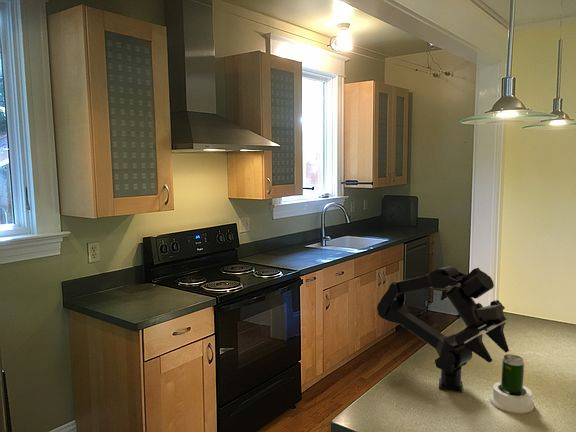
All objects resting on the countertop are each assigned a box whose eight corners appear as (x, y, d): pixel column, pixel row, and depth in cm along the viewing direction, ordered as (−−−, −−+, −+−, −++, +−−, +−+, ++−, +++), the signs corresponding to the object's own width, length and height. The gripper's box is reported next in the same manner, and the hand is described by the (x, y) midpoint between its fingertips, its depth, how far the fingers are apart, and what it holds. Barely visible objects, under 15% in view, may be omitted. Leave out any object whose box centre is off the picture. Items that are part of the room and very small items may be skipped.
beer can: (516, 406, 127) (518, 363, 126) (496, 399, 131) (498, 357, 130) (525, 400, 131) (527, 358, 129) (506, 393, 135) (508, 352, 133)
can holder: (488, 391, 138) (489, 378, 138) (531, 397, 134) (531, 383, 134) (490, 409, 128) (491, 395, 127) (536, 417, 124) (537, 402, 124)
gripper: (467, 300, 124) (505, 355, 118) (502, 285, 136) (538, 335, 130) (439, 319, 132) (473, 371, 125) (474, 303, 143) (507, 351, 137)
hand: (499, 356), depth 129 cm, fingers open, 9 cm apart
